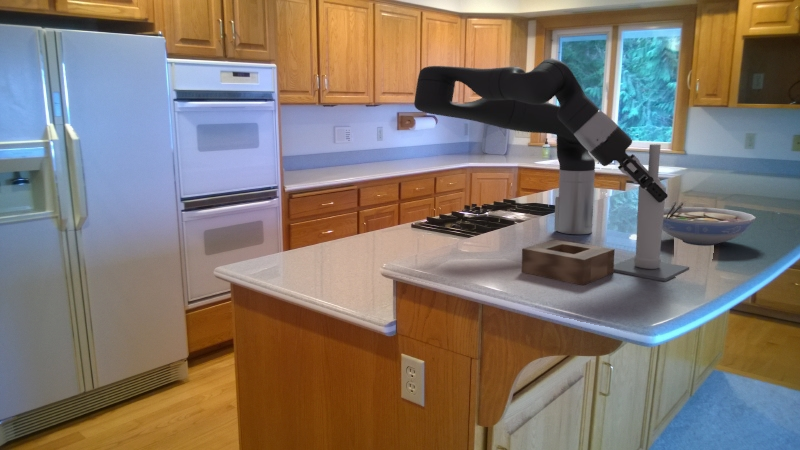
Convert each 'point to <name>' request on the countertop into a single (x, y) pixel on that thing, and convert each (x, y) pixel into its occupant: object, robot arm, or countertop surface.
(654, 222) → the bottle
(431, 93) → the robot arm
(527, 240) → the countertop surface
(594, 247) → the walnut holder
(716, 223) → the ramen bowl
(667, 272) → the slate mat
